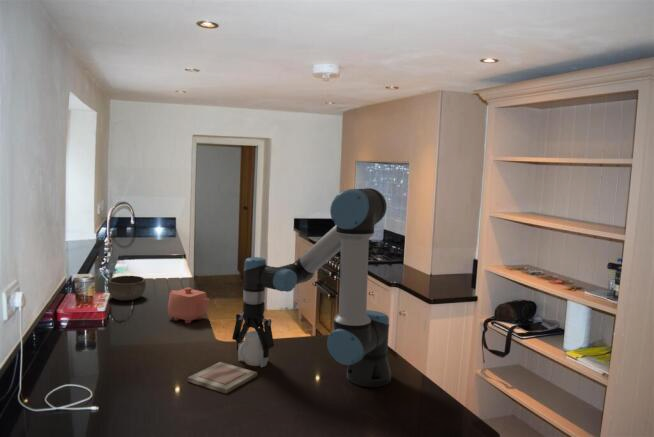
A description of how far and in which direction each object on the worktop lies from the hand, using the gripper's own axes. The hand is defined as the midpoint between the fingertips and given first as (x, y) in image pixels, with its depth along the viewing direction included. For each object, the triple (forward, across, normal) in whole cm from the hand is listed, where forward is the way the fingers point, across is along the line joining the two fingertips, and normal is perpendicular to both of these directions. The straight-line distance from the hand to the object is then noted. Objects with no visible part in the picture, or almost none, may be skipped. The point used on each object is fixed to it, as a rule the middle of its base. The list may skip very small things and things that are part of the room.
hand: (252, 362), depth 188 cm
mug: (0, 0, 0) cm, 0 cm away
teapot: (+1, +54, -25) cm, 59 cm away
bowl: (+1, +102, -32) cm, 107 cm away
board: (0, 0, +16) cm, 16 cm away
